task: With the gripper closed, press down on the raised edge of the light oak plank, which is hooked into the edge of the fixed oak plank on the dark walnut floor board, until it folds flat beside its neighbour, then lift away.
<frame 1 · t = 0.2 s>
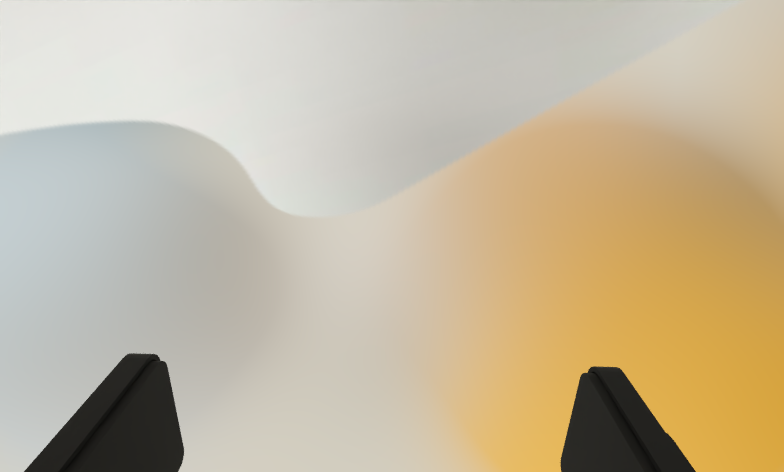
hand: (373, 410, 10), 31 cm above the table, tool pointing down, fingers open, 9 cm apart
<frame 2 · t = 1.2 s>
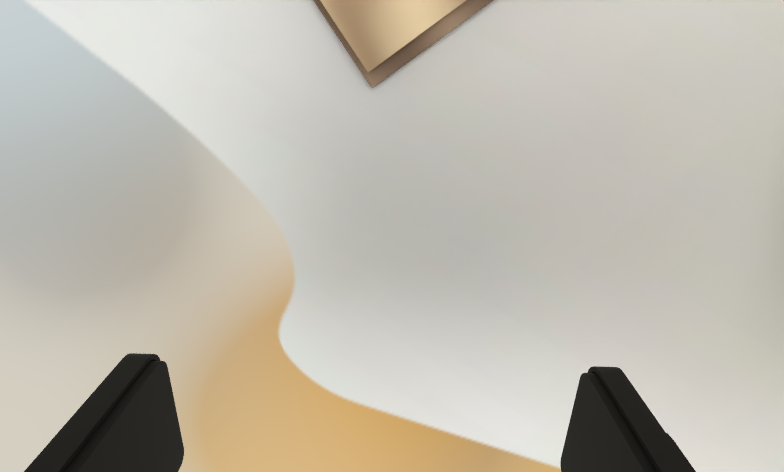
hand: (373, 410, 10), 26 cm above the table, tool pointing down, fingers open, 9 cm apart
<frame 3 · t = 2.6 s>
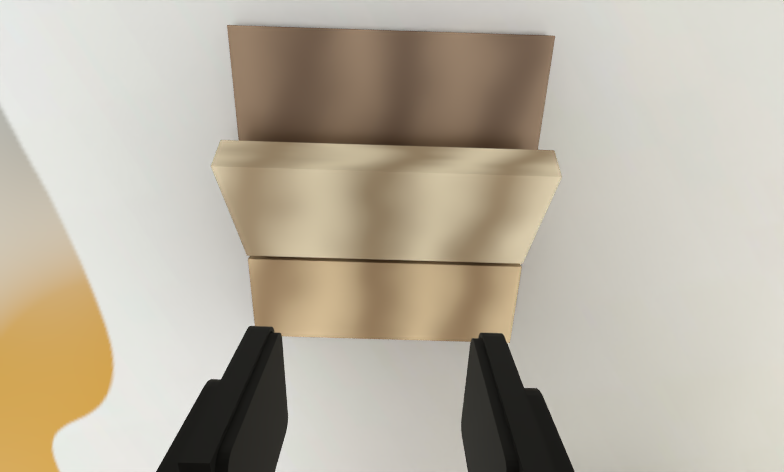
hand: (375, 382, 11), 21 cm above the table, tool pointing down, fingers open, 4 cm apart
floor board: (387, 195, 32), on the table
hinged plank: (386, 207, 27), point 5 cm above the table, hinge at 30.0°
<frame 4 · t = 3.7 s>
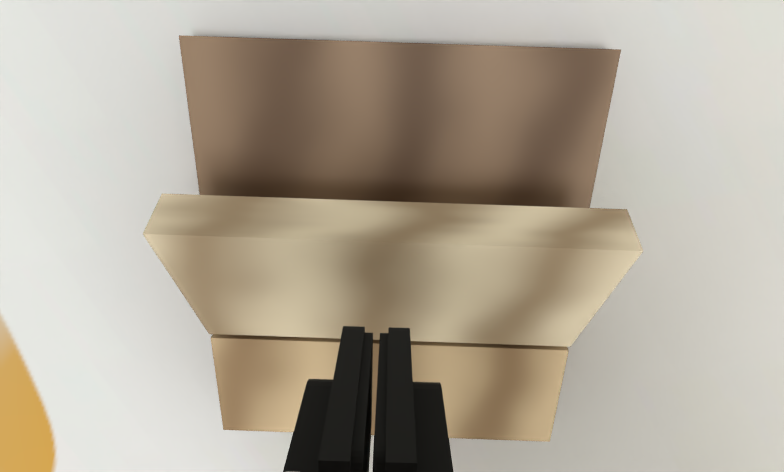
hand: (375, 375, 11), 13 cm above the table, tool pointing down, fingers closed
floor board: (392, 252, 25), on the table
hinged plank: (391, 279, 20), point 5 cm above the table, hinge at 30.0°
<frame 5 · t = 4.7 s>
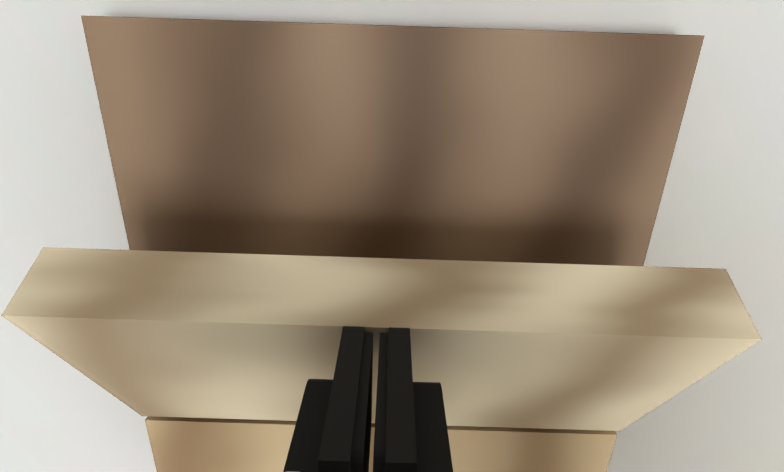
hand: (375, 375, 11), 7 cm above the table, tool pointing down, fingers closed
floor board: (385, 300, 19), on the table
hinged plank: (382, 355, 14), point 5 cm above the table, hinge at 30.0°, touching gripper
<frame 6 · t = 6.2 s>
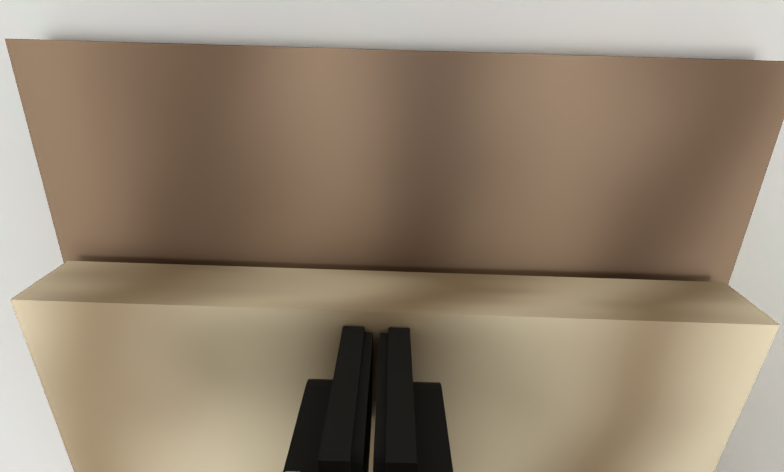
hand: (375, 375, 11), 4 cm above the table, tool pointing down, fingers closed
floor board: (390, 371, 16), on the table
hinged plank: (389, 409, 13), point 3 cm above the table, hinge at 2.6°, touching gripper
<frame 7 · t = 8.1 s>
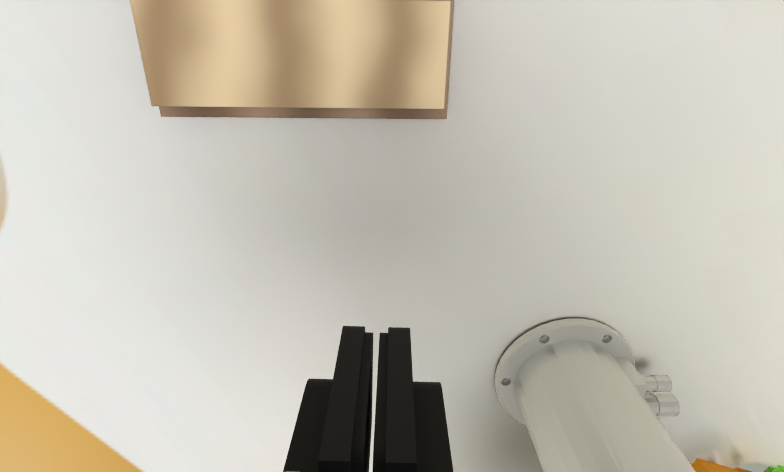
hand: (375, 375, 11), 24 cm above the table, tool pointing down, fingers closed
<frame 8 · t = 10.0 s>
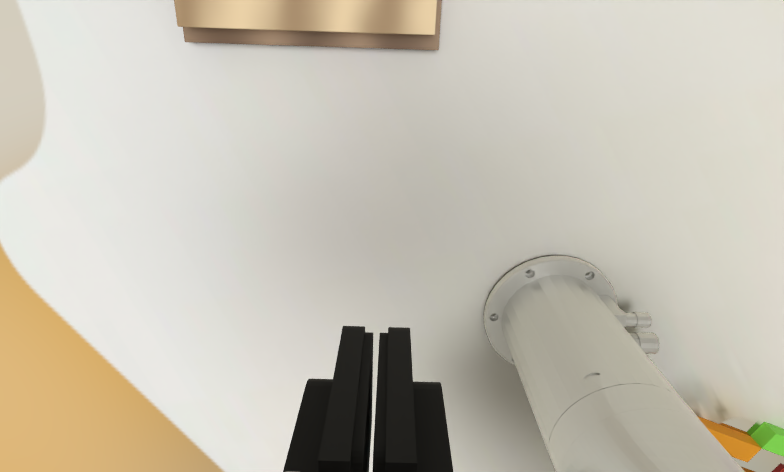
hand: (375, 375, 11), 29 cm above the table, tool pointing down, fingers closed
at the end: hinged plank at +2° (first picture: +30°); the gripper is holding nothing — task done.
